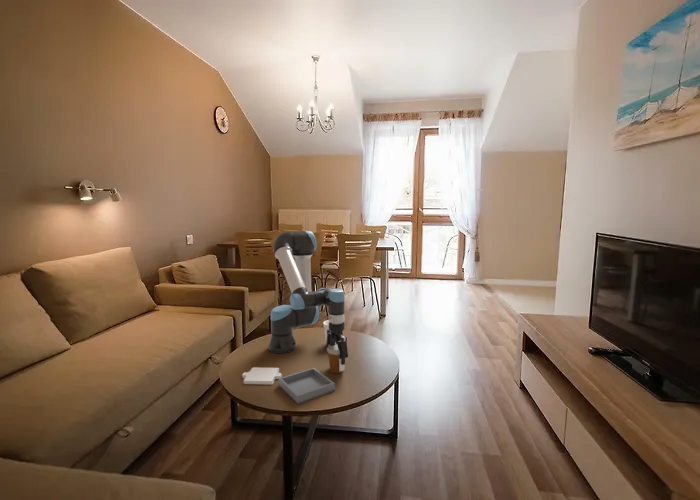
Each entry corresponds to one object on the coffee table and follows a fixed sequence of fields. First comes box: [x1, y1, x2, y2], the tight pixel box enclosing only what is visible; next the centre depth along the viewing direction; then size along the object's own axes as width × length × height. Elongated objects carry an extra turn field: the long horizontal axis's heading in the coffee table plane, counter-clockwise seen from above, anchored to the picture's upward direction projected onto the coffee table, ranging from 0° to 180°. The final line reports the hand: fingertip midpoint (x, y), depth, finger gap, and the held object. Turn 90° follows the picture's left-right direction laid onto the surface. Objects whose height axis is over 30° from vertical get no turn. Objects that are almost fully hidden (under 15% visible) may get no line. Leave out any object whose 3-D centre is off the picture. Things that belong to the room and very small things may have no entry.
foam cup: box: [322, 319, 336, 344], centre depth 206 cm, size 10×9×13 cm
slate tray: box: [278, 367, 336, 405], centre depth 159 cm, size 18×18×4 cm
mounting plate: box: [241, 366, 282, 385], centre depth 169 cm, size 18×13×2 cm
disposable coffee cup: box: [326, 343, 344, 374], centre depth 175 cm, size 10×10×12 cm
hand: (336, 366), depth 175 cm, fingers closed on disposable coffee cup, 8 cm apart
